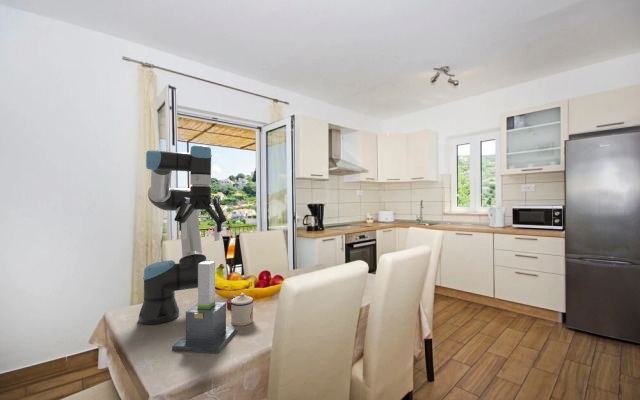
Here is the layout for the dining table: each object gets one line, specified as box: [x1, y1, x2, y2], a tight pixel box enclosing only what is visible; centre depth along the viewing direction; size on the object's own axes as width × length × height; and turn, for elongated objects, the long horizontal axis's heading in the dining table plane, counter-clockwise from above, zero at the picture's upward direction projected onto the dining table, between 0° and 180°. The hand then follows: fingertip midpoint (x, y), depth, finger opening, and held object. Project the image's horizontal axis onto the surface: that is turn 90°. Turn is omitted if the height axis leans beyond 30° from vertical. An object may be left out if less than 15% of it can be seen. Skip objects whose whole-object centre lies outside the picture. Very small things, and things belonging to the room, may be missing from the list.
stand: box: [171, 301, 238, 354], centre depth 104 cm, size 16×16×12 cm
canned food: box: [226, 293, 238, 310], centre depth 138 cm, size 11×10×10 cm
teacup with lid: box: [230, 292, 254, 327], centre depth 121 cm, size 12×9×12 cm
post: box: [197, 260, 216, 310], centre depth 104 cm, size 4×4×20 cm
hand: (200, 239), depth 114 cm, fingers open, 13 cm apart
